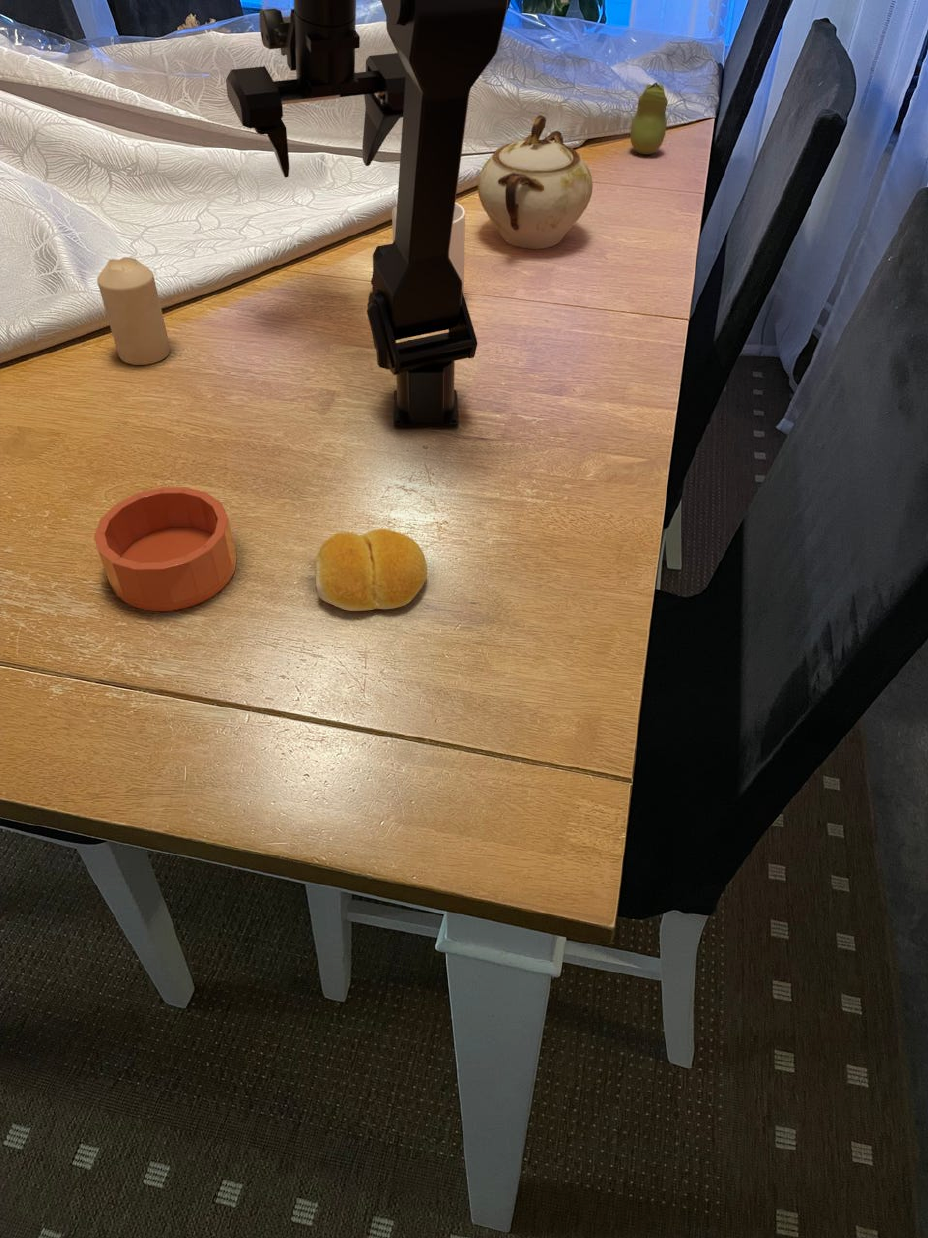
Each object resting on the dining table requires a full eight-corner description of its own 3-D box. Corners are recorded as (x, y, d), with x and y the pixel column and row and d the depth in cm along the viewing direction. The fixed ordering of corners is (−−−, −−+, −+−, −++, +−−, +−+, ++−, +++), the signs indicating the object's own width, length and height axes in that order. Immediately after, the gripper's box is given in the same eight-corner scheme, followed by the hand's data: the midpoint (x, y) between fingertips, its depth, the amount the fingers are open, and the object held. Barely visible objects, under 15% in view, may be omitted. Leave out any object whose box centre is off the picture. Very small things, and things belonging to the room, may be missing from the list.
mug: (433, 334, 100) (433, 244, 92) (369, 319, 102) (363, 230, 95) (473, 291, 108) (476, 204, 100) (412, 278, 110) (410, 192, 102)
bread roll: (433, 610, 69) (433, 573, 66) (319, 621, 68) (313, 584, 65) (420, 541, 75) (419, 505, 72) (314, 551, 74) (309, 514, 71)
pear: (662, 149, 145) (674, 80, 138) (661, 160, 141) (673, 90, 134) (628, 146, 146) (638, 77, 138) (626, 157, 142) (636, 87, 135)
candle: (144, 370, 93) (119, 279, 86) (107, 356, 95) (80, 265, 88) (181, 349, 96) (161, 259, 89) (145, 335, 98) (122, 246, 91)
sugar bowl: (560, 275, 111) (573, 148, 100) (452, 254, 115) (453, 128, 104) (604, 219, 124) (619, 101, 113) (505, 201, 128) (511, 85, 117)
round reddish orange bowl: (227, 610, 69) (216, 568, 65) (97, 612, 68) (80, 570, 65) (243, 528, 76) (234, 486, 72) (125, 529, 75) (111, 487, 72)
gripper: (386, -38, 88) (379, 117, 101) (201, -26, 82) (219, 136, 96) (429, 20, 83) (416, 174, 97) (236, 37, 78) (250, 198, 91)
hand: (326, 169), depth 95 cm, fingers open, 9 cm apart
